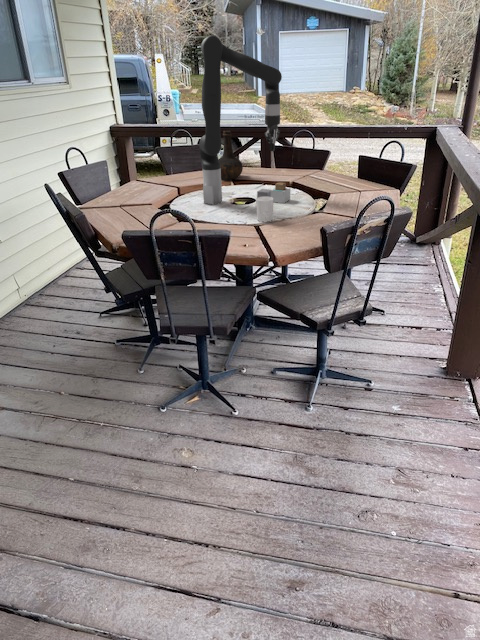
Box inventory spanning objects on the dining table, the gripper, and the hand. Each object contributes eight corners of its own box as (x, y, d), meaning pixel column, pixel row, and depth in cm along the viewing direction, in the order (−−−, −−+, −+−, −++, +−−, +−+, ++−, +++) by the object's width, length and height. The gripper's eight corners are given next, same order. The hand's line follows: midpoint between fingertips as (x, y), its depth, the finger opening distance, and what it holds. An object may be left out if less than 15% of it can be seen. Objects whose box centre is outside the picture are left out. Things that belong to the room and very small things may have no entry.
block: (282, 202, 251) (282, 184, 246) (275, 201, 252) (275, 184, 248) (285, 200, 254) (285, 182, 249) (278, 199, 255) (278, 182, 251)
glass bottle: (232, 173, 315) (230, 127, 302) (248, 178, 302) (247, 130, 289) (209, 178, 306) (206, 130, 293) (225, 183, 293) (223, 133, 280)
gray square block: (267, 201, 253) (267, 192, 251) (257, 200, 256) (257, 191, 254) (272, 198, 258) (272, 189, 256) (262, 197, 261) (262, 188, 259)
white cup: (252, 220, 225) (252, 199, 220) (264, 216, 229) (264, 195, 225) (265, 223, 220) (265, 201, 215) (276, 219, 224) (277, 198, 220)
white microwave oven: (283, 203, 248) (284, 191, 245) (270, 202, 252) (270, 189, 249) (290, 199, 254) (290, 187, 251) (277, 198, 258) (277, 186, 255)
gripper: (272, 115, 233) (272, 153, 241) (285, 113, 243) (284, 149, 251) (259, 115, 237) (259, 152, 245) (272, 112, 247) (271, 148, 255)
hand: (272, 150), depth 248 cm, fingers closed
